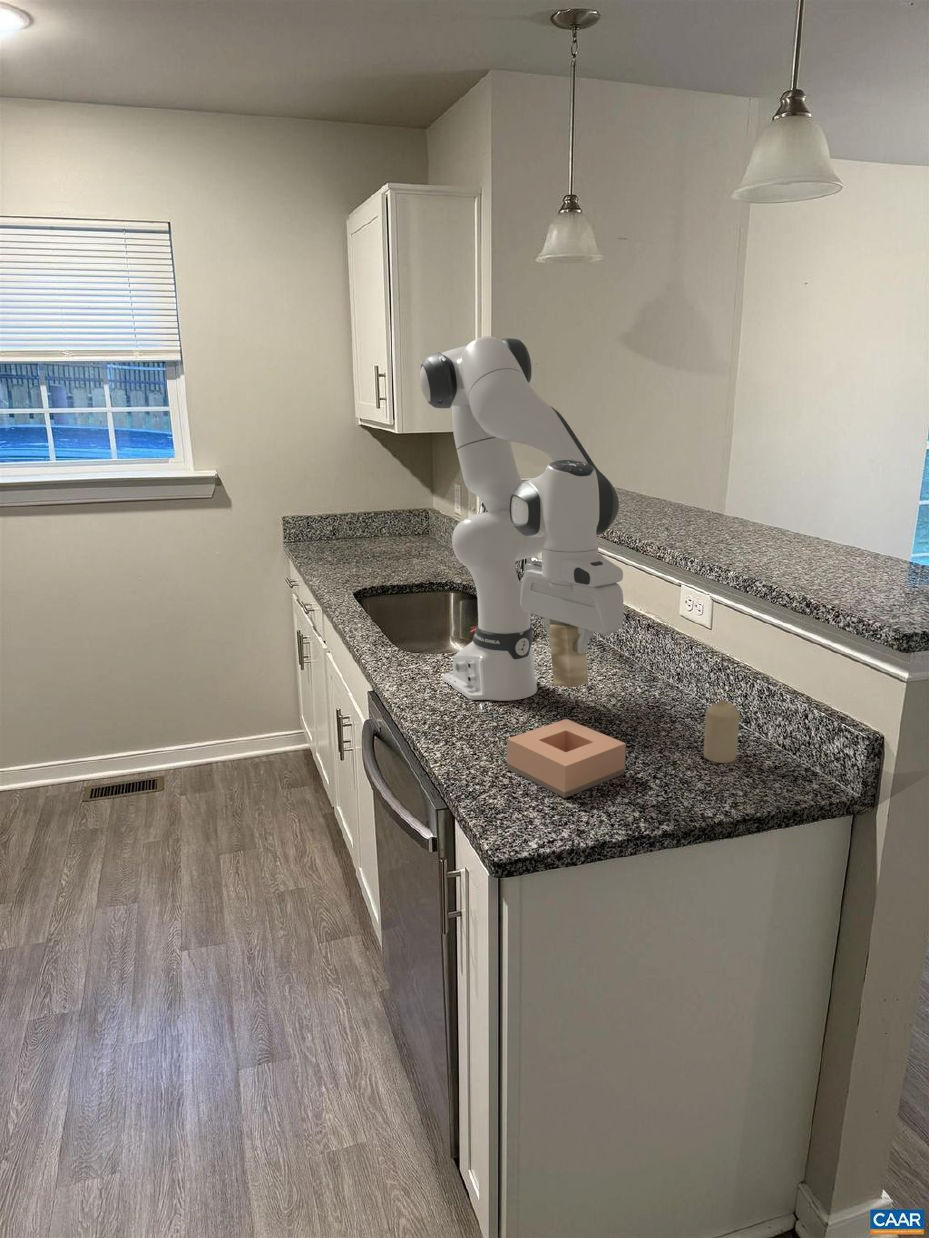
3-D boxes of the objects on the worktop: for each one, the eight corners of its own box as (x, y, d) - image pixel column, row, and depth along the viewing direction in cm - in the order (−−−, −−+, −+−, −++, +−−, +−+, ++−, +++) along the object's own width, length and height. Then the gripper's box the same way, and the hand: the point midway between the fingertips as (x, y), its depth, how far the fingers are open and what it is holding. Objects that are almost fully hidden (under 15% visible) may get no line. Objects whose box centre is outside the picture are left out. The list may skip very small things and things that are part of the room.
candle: (705, 762, 145) (709, 708, 143) (701, 749, 150) (705, 697, 148) (738, 764, 144) (742, 710, 142) (733, 751, 150) (737, 698, 147)
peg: (553, 684, 138) (549, 625, 136) (571, 679, 140) (566, 620, 139) (570, 687, 135) (566, 627, 133) (588, 682, 137) (584, 622, 136)
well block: (507, 768, 144) (507, 738, 142) (565, 747, 152) (566, 718, 151) (564, 798, 133) (565, 766, 132) (624, 773, 141) (625, 743, 140)
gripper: (511, 558, 139) (511, 638, 143) (602, 578, 124) (600, 667, 127) (539, 553, 143) (538, 631, 147) (631, 572, 127) (628, 659, 131)
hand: (567, 648), depth 137 cm, fingers closed on peg, 4 cm apart
